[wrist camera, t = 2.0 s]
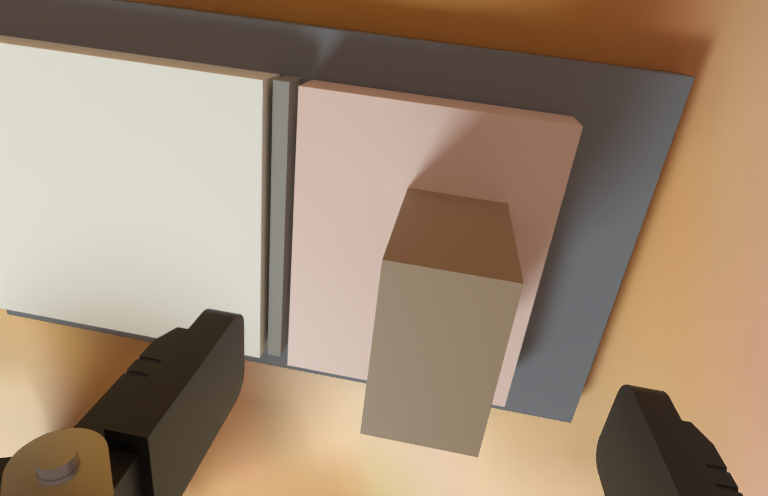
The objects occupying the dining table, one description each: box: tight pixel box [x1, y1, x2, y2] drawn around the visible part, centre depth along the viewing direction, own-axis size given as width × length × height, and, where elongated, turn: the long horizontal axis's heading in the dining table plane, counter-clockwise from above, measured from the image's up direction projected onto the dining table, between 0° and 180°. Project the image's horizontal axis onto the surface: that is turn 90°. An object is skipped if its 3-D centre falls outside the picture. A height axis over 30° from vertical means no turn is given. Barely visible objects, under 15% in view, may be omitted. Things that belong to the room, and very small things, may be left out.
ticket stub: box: [287, 80, 583, 457], centre depth 15 cm, size 8×10×6 cm
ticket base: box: [0, 0, 695, 423], centre depth 18 cm, size 24×13×2 cm, turn 84°
